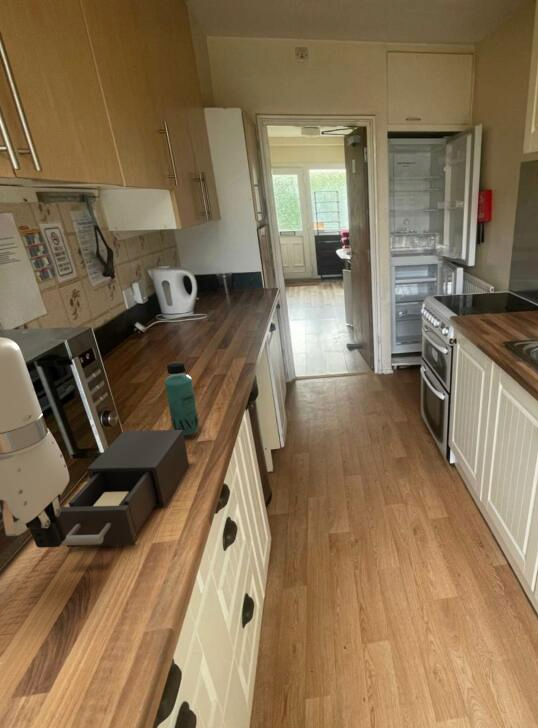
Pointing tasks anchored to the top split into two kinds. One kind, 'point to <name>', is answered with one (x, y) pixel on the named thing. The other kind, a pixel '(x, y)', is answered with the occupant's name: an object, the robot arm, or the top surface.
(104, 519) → the drawer
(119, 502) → the block
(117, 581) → the top surface
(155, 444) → the drawer cabinet
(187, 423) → the beverage bottle
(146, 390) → the top surface
